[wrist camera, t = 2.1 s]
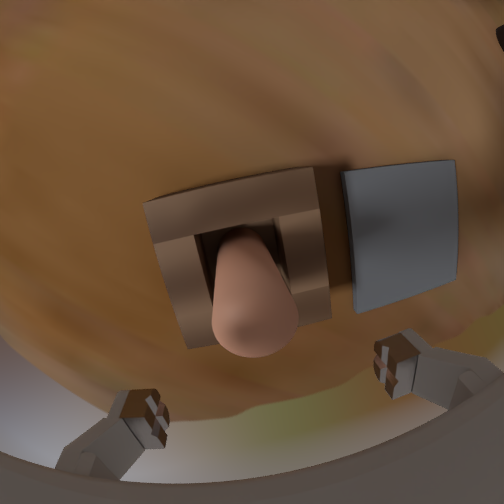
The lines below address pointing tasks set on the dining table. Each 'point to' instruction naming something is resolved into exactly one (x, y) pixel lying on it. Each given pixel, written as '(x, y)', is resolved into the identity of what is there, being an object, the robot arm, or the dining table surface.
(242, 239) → the dowel pin
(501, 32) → the coffee mug
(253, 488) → the robot arm
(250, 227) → the holder block
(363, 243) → the slate mat
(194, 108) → the dining table surface
